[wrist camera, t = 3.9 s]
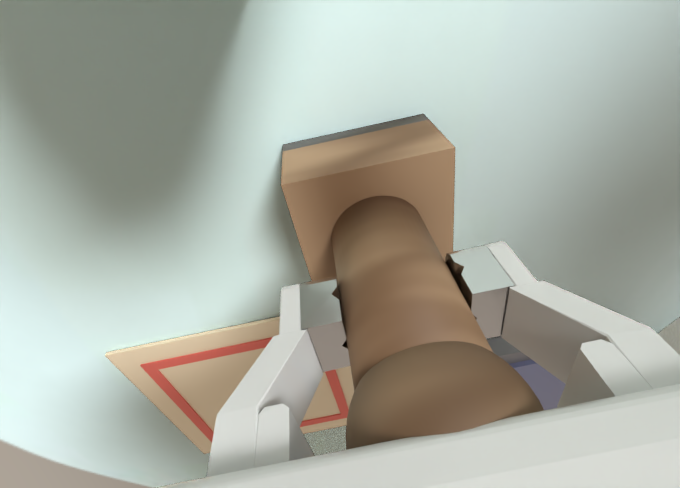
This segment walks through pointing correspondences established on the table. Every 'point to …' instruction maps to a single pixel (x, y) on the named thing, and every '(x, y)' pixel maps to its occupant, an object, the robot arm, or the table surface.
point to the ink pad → (530, 373)
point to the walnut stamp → (397, 281)
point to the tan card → (219, 378)
